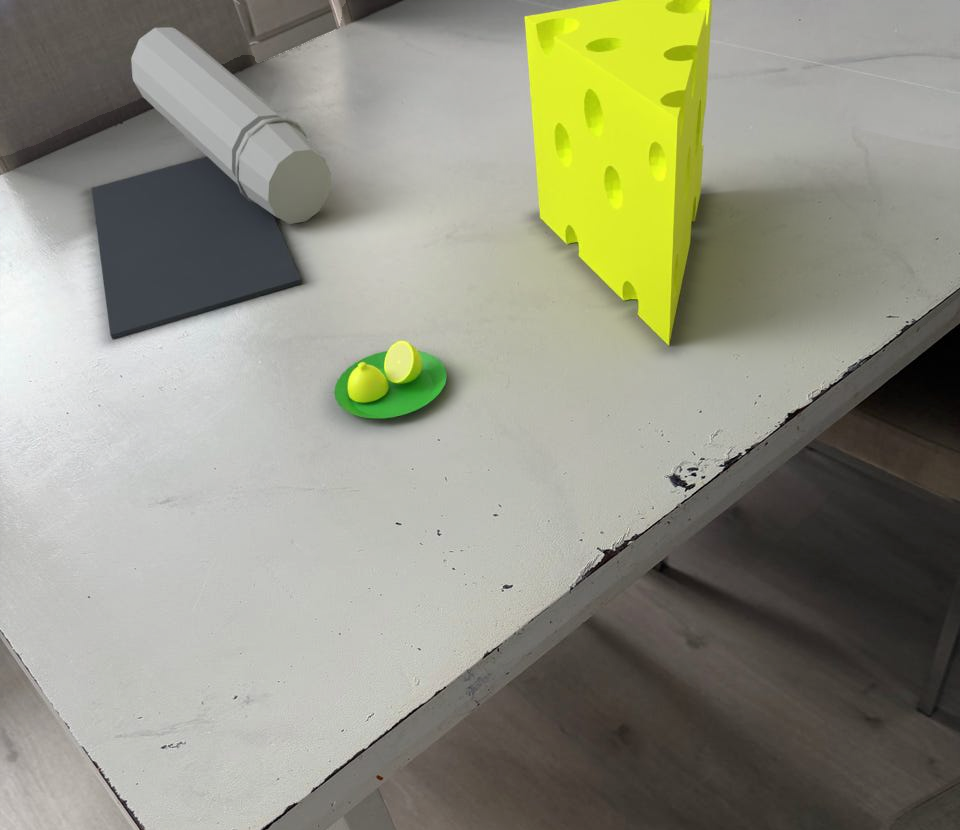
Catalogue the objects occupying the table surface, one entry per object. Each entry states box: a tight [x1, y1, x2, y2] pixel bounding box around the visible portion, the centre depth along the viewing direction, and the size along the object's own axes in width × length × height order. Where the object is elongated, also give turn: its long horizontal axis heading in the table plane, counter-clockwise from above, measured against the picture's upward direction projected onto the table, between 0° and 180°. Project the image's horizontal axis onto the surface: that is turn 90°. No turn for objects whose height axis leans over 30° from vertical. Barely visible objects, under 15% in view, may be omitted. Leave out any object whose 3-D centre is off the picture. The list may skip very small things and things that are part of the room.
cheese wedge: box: [524, 0, 713, 346], centre depth 66 cm, size 19×20×15 cm
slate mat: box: [91, 155, 303, 340], centre depth 83 cm, size 30×16×1 cm, turn 19°
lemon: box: [334, 340, 448, 419], centre depth 63 cm, size 8×8×3 cm
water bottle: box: [130, 26, 332, 225], centre depth 85 cm, size 9×8×25 cm
